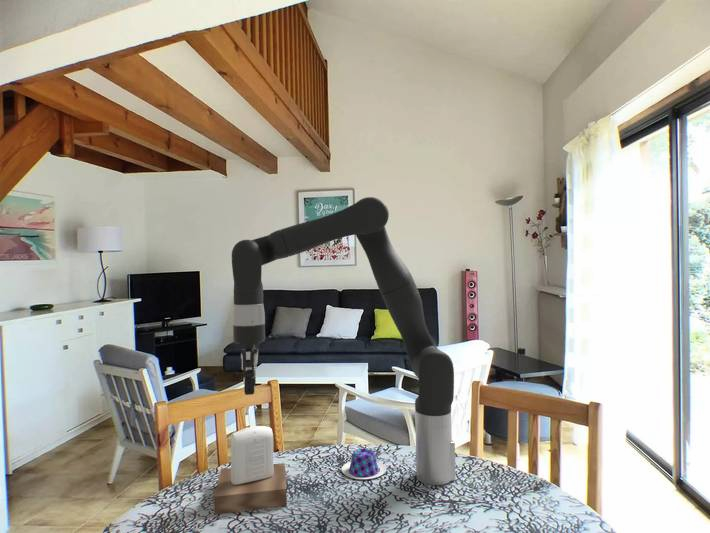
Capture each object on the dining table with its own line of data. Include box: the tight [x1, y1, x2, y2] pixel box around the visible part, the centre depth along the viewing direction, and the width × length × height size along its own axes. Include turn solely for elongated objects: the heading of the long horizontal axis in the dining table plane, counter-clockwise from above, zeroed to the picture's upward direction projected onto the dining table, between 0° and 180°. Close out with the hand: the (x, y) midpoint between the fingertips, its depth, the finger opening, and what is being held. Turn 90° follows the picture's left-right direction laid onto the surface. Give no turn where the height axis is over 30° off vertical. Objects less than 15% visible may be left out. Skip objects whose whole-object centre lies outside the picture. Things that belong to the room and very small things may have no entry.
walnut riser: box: [213, 462, 288, 515], centre depth 108 cm, size 16×14×4 cm
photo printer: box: [230, 425, 274, 485], centre depth 108 cm, size 10×4×12 cm, turn 118°
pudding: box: [341, 448, 387, 480], centre depth 120 cm, size 12×12×5 cm
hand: (250, 389), depth 108 cm, fingers open, 8 cm apart
